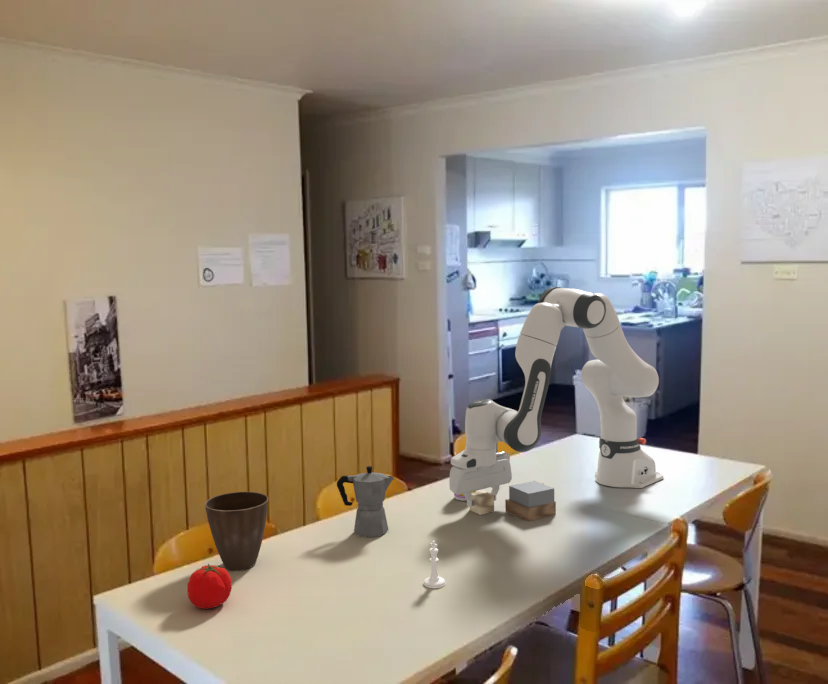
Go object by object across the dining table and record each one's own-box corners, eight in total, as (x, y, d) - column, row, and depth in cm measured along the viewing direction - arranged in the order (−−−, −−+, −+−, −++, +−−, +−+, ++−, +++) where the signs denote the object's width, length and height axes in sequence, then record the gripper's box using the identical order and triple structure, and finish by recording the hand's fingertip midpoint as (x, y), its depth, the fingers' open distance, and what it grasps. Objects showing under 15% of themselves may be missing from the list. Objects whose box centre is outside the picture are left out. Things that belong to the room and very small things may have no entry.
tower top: (534, 494, 225) (534, 480, 225) (554, 502, 218) (554, 488, 217) (509, 499, 221) (509, 485, 221) (528, 507, 213) (528, 493, 213)
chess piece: (438, 590, 171) (437, 546, 170) (419, 585, 174) (418, 542, 172) (449, 581, 175) (448, 539, 174) (430, 577, 178) (429, 535, 177)
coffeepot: (395, 524, 213) (393, 460, 211) (396, 536, 204) (394, 470, 202) (339, 526, 213) (337, 462, 211) (337, 539, 203) (334, 472, 201)
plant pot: (204, 559, 192) (200, 496, 190) (263, 548, 198) (260, 487, 196) (213, 581, 178) (210, 514, 177) (277, 569, 184) (274, 504, 182)
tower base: (532, 506, 227) (531, 493, 226) (555, 515, 219) (555, 501, 218) (505, 513, 221) (505, 499, 221) (528, 522, 213) (528, 508, 213)
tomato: (191, 618, 160) (188, 579, 160) (184, 599, 170) (182, 562, 169) (236, 609, 164) (234, 571, 163) (227, 590, 174) (225, 554, 173)
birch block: (483, 506, 226) (483, 490, 226) (494, 511, 222) (493, 494, 222) (469, 510, 224) (469, 493, 223) (480, 515, 219) (479, 497, 219)
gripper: (502, 448, 229) (502, 493, 231) (445, 459, 218) (446, 507, 220) (516, 452, 224) (516, 499, 226) (459, 464, 213) (459, 513, 215)
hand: (481, 503), depth 223 cm, fingers open, 6 cm apart
